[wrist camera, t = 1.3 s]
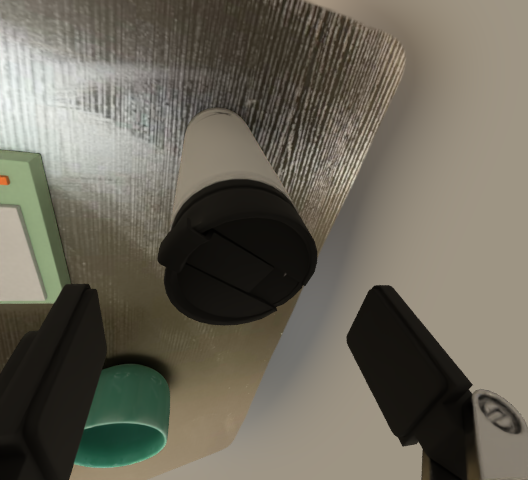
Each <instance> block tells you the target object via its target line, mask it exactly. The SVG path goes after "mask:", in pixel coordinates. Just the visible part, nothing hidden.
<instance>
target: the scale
mask: <svg viewBox="0 0 528 480" xmlns="http://www.w3.org/2000/svg"><path fill="white" fill-rule="evenodd" d="M66 284H71V282H70V278H69V274H68V269H67V265H66V261H65V257H64V253H63V248H62V244H61V240H60V236H59V231H58V227H57V223H56V219H55V215H54V210H53V206H52V202H51V198H50V194H49V189H48V185H47V181H46V177H45V173H44V168H43V164H42V160H41V156H40V154H36V153H27V152H17V151H8V150H0V304H13V303H55V301H56V299H57V297H58V296H59V294H60V292H61V290H62V289H63V287H64V286H65V285H66Z"/></svg>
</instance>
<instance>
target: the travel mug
mask: <svg viewBox="0 0 528 480" xmlns="http://www.w3.org/2000/svg"><path fill="white" fill-rule="evenodd" d="M158 262H159V263H160V264H161V265H163V266H165V267H166V268H165V276H164V285H165V290H166V294H167V296H168V297H169V299H170V301H171V303H172V304H173V305H174V306H175V307H176V308H177V309H178V311H180V312H181V313H183V314H184V315H186V316H187V317H189V318H191V319H194V320H196V321H199V322H202V323H207V324H211V325H238V324H244V323H249V322H253V321H256V320H259V319H262V318H264V317H266V316H268V315H270V314H271V313H273V312H275V311H277V309H276V307H277V306H280V305H282V304H284V303H285V302H287V301H288V300H289V299H291V298H292V297H293V296H294V295H295V294H296V293H297V292H298V291H299V290H300V289H301V288H302V286H303V285H304V286H306V284H307V283H308V281H309V280H310V278H311V277H312V275H313V274H314V272H315V268H316V264H317V249H316V245H315V241H314V239H313V238H312V236H311V234H310V233H309V231H308V229H307V228H306V226H305V224H304V222H303V221H302V219H301V217H300V216H299V212H298V210H297V208H296V206H295V205H294V203H293V201H292V200H291V198H290V196H289V195H288V193H287V191H286V190H285V188H284V186H283V185H282V183H281V181H280V180H279V178H278V176H277V175H276V173H275V171H274V170H273V168H272V166H271V164H270V163H269V161H268V159H267V158H266V156H265V154H264V153H263V151H262V149H261V148H260V146H259V144H258V143H257V141H256V139H255V138H254V136H253V134H252V133H251V131H250V129H249V128H248V126H247V124H246V123H245V121H244V120H243V119H242V118H241V117H240V116H239V115H238V114H236V113H235V112H233V111H231V110H229V109H225V108H216V107H214V108H209V109H206V110H203V111H201V112H200V113H198V114H197V115H195V116H194V118H193V119H192V120H191V121H190V123H189V124H188V126H187V129H186V132H185V138H184V144H183V150H182V156H181V163H180V169H179V175H178V181H177V188H176V194H175V200H174V206H173V213H172V220H171V225H170V232H169V233H168V235H167V236H166V237H165V238H164V240H163V241H162V242H161V245H160V248H159V253H158Z"/></svg>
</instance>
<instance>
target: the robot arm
mask: <svg viewBox="0 0 528 480" xmlns="http://www.w3.org/2000/svg"><path fill="white" fill-rule="evenodd" d="M347 344H348V346H349V348H350V350H351V352H352V354H353V356H354V358H355V360H356V362H357V364H358V366H359V368H360V370H361V372H362V374H363V376H364V378H365V380H366V382H367V384H368V386H369V388H370V390H371V392H372V393H373V396H374V397H375V399H376V401H377V403H378V405H379V407H380V409H381V411H382V413H383V415H384V417H385V419H386V421H387V423H388V425H389V427H390V429H391V431H392V432H393V434H394V435H395V436H397V437H398V438H399V440H400V442H401V444H402V446H408V445H414V444H417V443H418V442H419V443H420V445H421V446H422V448H423V456H422V479H421V480H528V427H527V425H526V422H525V420H524V419H523V417H522V416H521V414H520V413H519V412H518V411H517V410H516V409H515V407H514V406H513V405H512V404H510V403H509V402H508V401H507V400H505V399H504V398H502V397H501V396H499V395H498V394H496V393H493V392H491V391H489V390H484V389H479V390H476V391H475V392H474V393H473V394H472V393H471V392H470V391H469V388H470V387H471V386H472V383H471V382H470V381H469V380H468V378H467V377H466V376H465V375H464V374H463V372H462V371H461V370H460V369H459V368H458V366H457V365H456V364H455V363H454V362H453V360H452V359H451V358H450V357H449V355H448V354H447V353H446V352H445V350H444V349H443V348H442V347H441V346H440V345H439V343H438V342H437V341H436V339H435V338H434V337H433V336H432V335H431V333H430V332H429V331H428V330H427V329H426V327H425V326H424V325H423V324H422V322H421V321H420V320H419V319H418V318H417V317H416V315H415V314H414V313H413V311H412V310H411V309H410V308H409V307H408V305H407V304H406V303H405V302H404V301H403V299H402V298H401V297H400V296H399V294H398V293H397V292H396V291H395V290H394V288H392V287H391V286H389V285H376V286H374V287H373V288H372V289H371V290H369V291H368V294H367V295H366V298H365V299H364V302H363V304H362V306H361V308H360V310H359V312H358V314H357V316H356V318H355V320H354V322H353V324H352V326H351V328H350V331H349V332H348V334H347ZM106 351H107V346H106V340H105V334H104V328H103V322H102V317H101V311H100V305H99V299H98V293H97V290H96V289H91V288H90V285H89V284H66V285H65V286H64V287H63V289H62V290H61V292H60V294H59V296H58V297H57V299H56V301H55V303H54V305H53V306H52V308H51V310H50V312H49V313H48V315H47V317H46V319H45V321H44V322H43V324H42V326H41V328H40V329H39V331H29V332H28V333H26V334H25V335H24V336H23V338H22V339H21V340H20V342H19V344H18V345H17V347H16V349H15V350H14V352H13V354H12V355H11V357H10V359H9V360H8V362H7V364H6V365H5V367H4V368H3V370H2V372H1V373H0V480H69V478H70V475H71V472H72V468H73V465H74V462H75V458H76V455H77V452H78V448H79V445H80V441H81V438H82V435H83V431H84V428H85V425H86V421H87V418H88V415H89V411H90V408H91V405H92V401H93V398H94V395H95V391H96V388H97V384H98V381H99V378H100V374H101V371H102V368H103V364H104V361H105V357H106Z"/></svg>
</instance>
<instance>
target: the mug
mask: <svg viewBox="0 0 528 480" xmlns="http://www.w3.org/2000/svg"><path fill="white" fill-rule="evenodd" d="M169 414H170V391H169V387H168V384H167V382H166V380H165V379H164V377H163V376H162V375H161V374H160V373H158V372H157V371H155V370H154V369H152V368H149V367H146V366H143V365H139V364H122V365H117V366H112V367H109V368H106V369H104V370H102V371H101V374H100V378H99V381H98V384H97V388H96V391H95V395H94V398H93V401H92V405H91V408H90V411H89V415H88V418H87V421H86V425H85V428H84V431H83V435H82V438H81V441H80V445H79V448H78V452H77V455H76V458H75V462H74V464H76V465H80V466H85V467H94V468H110V467H120V466H126V465H130V464H134V463H137V462H141V461H143V460H146V459H148V458H150V457H152V456H154V455H156V454H157V453H158V452H160V451H161V450H162V449H163V448H164V446H165V445H166V442H167V436H168V426H169Z"/></svg>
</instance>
